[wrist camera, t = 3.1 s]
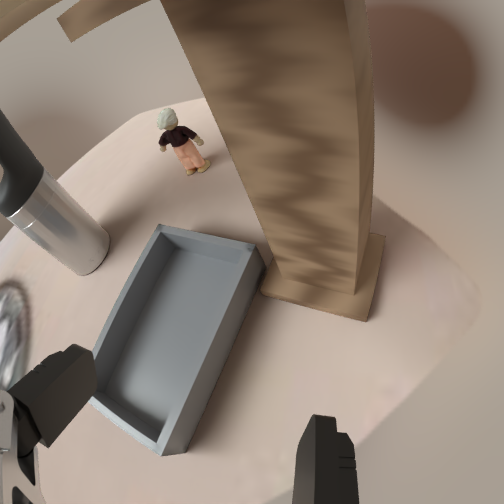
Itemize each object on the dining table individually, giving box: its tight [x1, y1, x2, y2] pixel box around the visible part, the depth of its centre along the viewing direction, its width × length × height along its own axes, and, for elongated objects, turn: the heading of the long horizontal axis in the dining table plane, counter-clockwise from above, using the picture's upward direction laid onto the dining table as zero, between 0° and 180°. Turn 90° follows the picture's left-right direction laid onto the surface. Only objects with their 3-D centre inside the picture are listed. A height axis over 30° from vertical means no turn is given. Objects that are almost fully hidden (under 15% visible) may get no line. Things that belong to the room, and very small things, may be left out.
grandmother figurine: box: [157, 108, 210, 175], centre depth 44 cm, size 8×4×13 cm, turn 93°
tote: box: [88, 224, 266, 456], centre depth 32 cm, size 14×24×5 cm, turn 157°
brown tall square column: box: [57, 0, 386, 322], centre depth 20 cm, size 12×12×32 cm
